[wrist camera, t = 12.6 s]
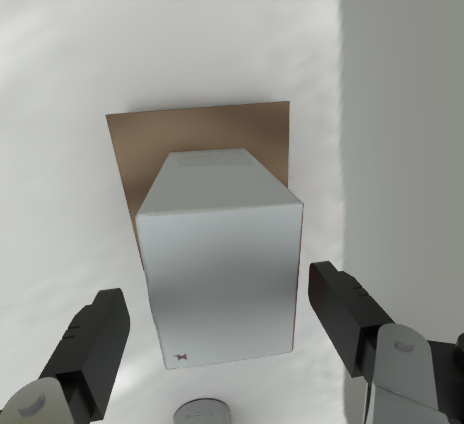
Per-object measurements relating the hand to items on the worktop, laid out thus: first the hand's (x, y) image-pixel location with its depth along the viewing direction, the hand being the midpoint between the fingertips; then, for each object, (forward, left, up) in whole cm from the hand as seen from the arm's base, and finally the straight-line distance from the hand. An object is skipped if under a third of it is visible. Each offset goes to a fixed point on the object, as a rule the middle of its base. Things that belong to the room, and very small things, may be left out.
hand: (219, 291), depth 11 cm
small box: (0, 0, -13) cm, 13 cm away
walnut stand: (0, 0, -18) cm, 18 cm away
